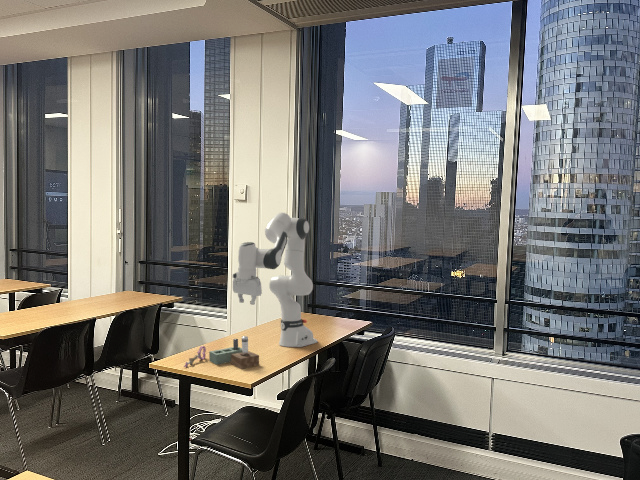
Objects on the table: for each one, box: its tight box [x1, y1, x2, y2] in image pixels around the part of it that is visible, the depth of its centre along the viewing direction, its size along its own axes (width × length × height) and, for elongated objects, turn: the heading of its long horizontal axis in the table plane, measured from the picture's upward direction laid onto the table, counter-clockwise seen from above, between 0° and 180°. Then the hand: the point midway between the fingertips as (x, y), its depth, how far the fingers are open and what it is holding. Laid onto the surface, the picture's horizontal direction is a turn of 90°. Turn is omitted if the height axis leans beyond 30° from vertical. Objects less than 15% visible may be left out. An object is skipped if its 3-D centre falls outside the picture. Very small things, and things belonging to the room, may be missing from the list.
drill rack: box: [208, 346, 242, 366], centre depth 278 cm, size 16×8×5 cm, turn 128°
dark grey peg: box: [232, 338, 239, 350], centre depth 281 cm, size 2×2×10 cm
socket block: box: [230, 350, 260, 370], centre depth 269 cm, size 10×10×5 cm
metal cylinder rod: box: [241, 335, 249, 356], centre depth 269 cm, size 3×3×14 cm
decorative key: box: [183, 345, 207, 368], centre depth 273 cm, size 7×1×20 cm
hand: (246, 303), depth 267 cm, fingers open, 8 cm apart
